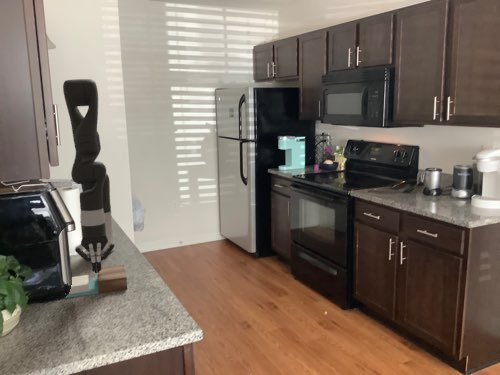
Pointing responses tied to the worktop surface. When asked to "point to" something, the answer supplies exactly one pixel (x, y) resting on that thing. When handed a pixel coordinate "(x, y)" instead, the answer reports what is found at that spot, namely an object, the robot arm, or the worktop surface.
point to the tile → (79, 284)
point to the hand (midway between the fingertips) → (97, 272)
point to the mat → (92, 289)
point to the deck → (112, 278)
